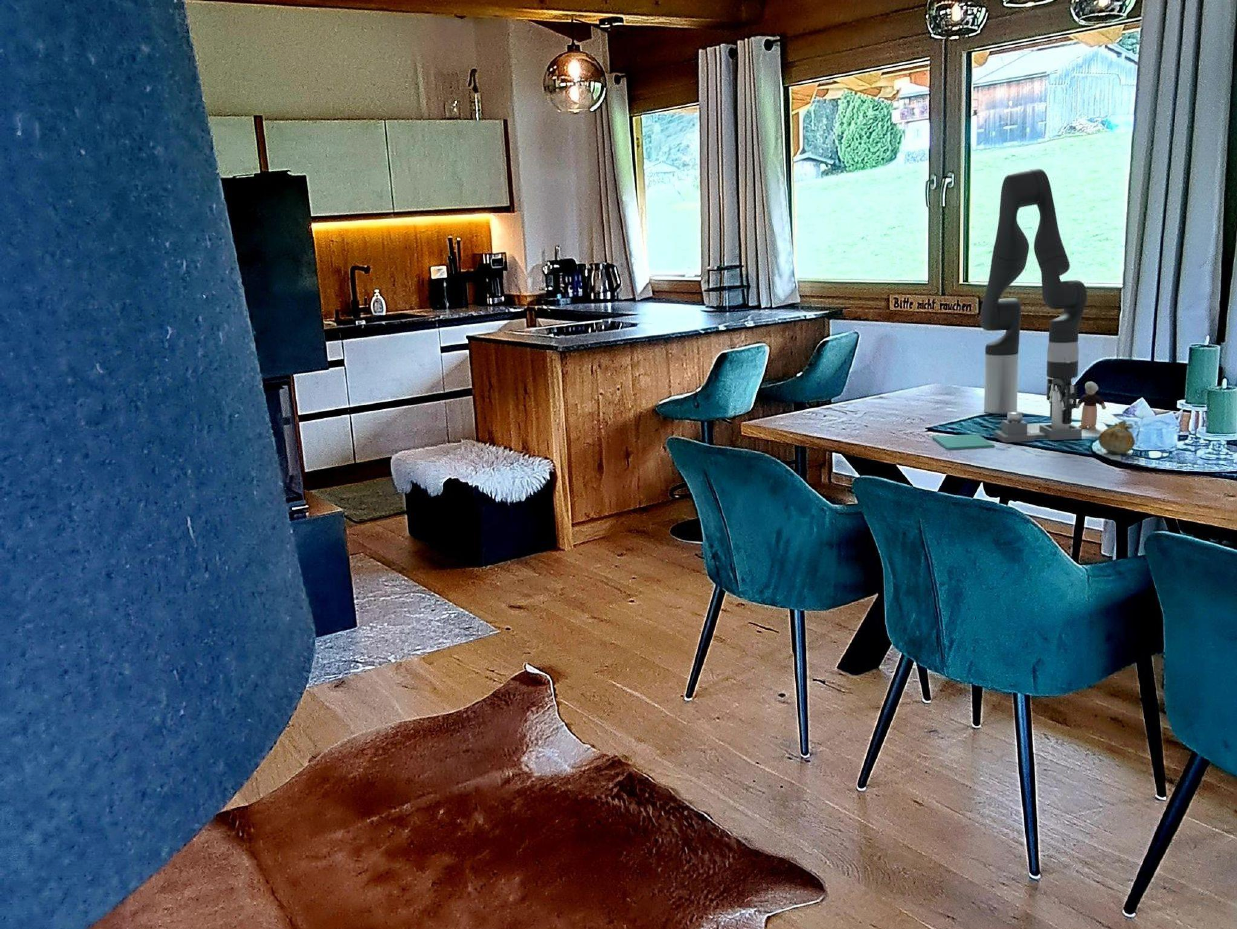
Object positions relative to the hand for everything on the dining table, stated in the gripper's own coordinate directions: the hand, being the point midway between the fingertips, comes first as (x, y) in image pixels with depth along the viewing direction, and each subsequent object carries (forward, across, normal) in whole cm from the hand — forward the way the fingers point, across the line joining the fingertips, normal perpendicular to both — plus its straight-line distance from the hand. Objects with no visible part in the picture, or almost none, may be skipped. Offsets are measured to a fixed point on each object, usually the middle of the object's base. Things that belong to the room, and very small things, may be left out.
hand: (1060, 420), depth 280 cm
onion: (+4, +22, +5) cm, 23 cm away
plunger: (+2, 0, -12) cm, 12 cm away
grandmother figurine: (+4, -8, +11) cm, 14 cm away
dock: (+4, 0, -5) cm, 6 cm away
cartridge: (+4, 0, 0) cm, 4 cm away
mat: (+4, +2, -26) cm, 26 cm away
